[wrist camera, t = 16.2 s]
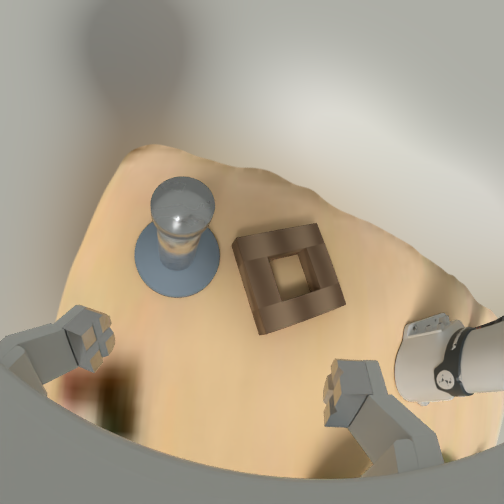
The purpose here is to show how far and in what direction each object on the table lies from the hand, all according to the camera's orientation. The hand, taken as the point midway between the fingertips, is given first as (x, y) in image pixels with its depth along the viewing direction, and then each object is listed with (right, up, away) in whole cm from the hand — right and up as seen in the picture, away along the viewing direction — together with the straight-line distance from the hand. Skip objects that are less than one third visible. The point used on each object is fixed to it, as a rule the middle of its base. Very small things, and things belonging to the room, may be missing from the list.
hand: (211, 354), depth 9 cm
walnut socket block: (+7, -1, +33) cm, 33 cm away
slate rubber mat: (-9, +3, +29) cm, 30 cm away
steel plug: (-9, +3, +28) cm, 30 cm away
